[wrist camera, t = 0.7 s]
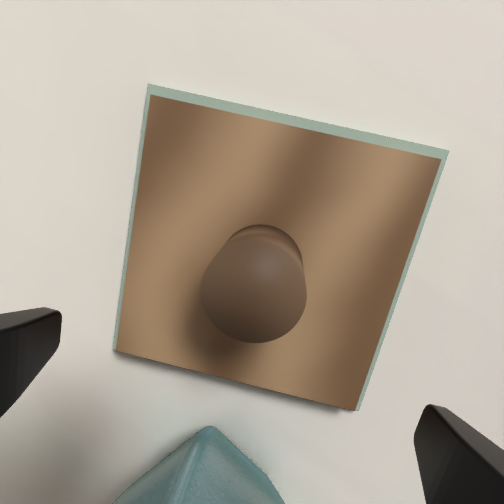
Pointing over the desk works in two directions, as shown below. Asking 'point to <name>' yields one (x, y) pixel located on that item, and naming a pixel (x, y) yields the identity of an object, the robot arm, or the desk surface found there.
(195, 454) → the flower pot
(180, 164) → the lid
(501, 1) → the desk surface
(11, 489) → the desk surface
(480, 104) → the desk surface
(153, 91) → the mat
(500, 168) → the desk surface
